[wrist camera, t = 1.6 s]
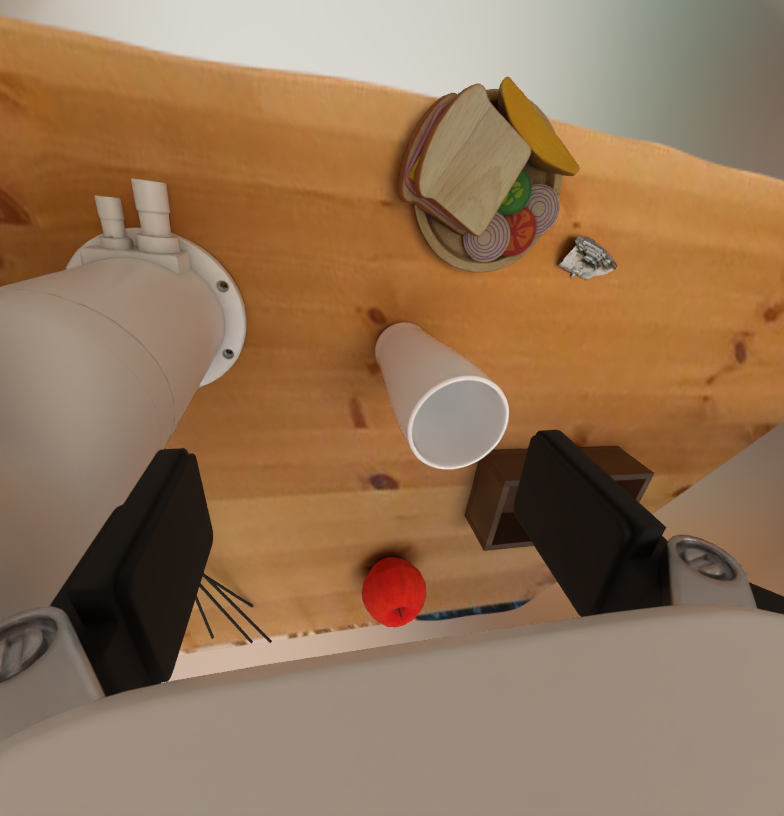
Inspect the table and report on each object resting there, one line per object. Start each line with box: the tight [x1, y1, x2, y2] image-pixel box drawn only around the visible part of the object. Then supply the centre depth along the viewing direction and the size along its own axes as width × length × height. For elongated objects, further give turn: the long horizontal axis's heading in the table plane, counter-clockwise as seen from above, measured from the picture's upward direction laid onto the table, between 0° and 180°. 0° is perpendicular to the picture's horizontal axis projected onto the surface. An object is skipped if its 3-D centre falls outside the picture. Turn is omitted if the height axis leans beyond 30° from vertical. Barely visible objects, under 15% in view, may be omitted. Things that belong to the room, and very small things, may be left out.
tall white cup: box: [375, 322, 509, 469], centre depth 29 cm, size 7×7×15 cm
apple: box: [362, 557, 426, 627], centre depth 46 cm, size 8×8×7 cm
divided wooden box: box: [465, 446, 654, 551], centre depth 46 cm, size 10×19×6 cm, turn 83°
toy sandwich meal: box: [398, 77, 580, 272], centre depth 29 cm, size 12×14×5 cm
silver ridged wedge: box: [559, 236, 617, 280], centre depth 36 cm, size 6×2×3 cm
